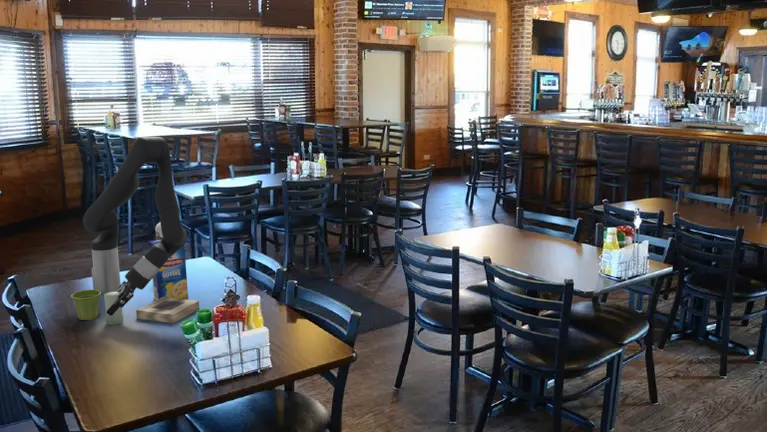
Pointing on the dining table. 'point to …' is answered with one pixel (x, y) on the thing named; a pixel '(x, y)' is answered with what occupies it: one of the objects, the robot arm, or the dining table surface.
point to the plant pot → (87, 303)
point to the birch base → (167, 309)
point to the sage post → (109, 300)
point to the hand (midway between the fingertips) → (108, 311)
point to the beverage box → (171, 276)
